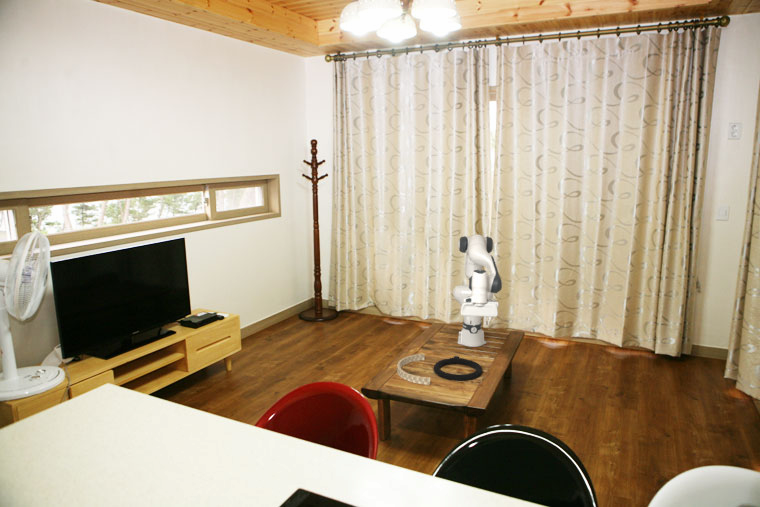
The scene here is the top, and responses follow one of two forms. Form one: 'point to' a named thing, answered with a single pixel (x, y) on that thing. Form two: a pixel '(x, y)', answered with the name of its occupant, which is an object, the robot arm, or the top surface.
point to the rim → (408, 376)
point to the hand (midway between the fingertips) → (478, 324)
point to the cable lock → (455, 376)
